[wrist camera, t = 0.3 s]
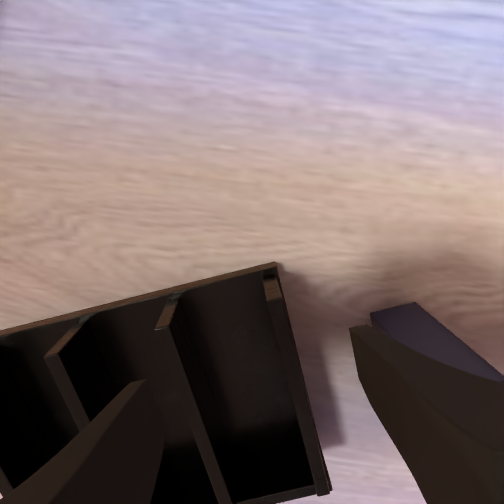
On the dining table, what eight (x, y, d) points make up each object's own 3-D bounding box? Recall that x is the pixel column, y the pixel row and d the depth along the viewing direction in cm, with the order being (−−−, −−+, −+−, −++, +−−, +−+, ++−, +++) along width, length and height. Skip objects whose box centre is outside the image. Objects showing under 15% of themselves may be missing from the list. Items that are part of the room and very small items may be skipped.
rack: (318, 439, 25) (335, 498, 21) (73, 496, 26) (40, 566, 21) (274, 261, 21) (284, 289, 17) (-13, 333, 22) (-75, 378, 17)
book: (430, 423, 25) (516, 543, 17) (390, 433, 25) (457, 556, 17) (415, 301, 22) (508, 379, 15) (369, 312, 22) (439, 395, 15)
